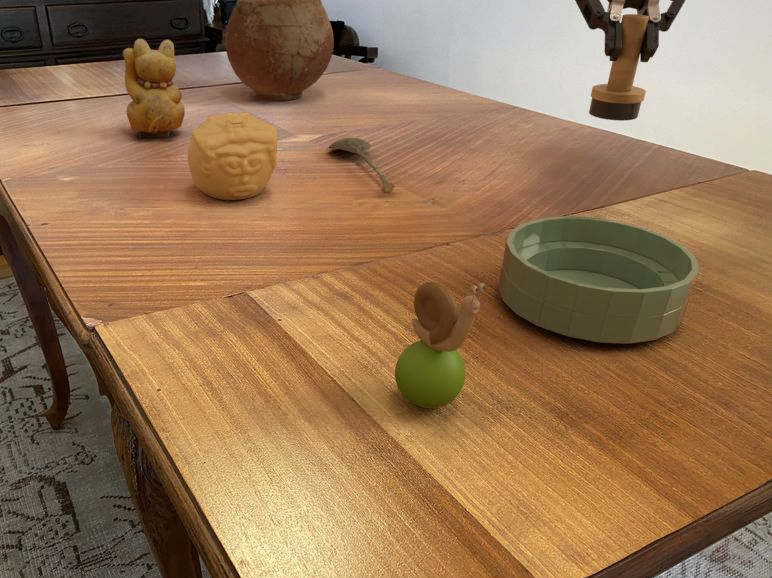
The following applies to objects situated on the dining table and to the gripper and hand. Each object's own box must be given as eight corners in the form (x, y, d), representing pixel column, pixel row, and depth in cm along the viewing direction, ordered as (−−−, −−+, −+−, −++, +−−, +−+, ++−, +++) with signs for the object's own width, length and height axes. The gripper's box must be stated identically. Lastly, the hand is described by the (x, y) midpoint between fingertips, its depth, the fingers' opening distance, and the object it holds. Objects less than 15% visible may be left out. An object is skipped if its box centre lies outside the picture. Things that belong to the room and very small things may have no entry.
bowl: (643, 270, 77) (658, 219, 74) (709, 354, 63) (731, 295, 60) (485, 264, 78) (494, 213, 75) (514, 346, 64) (526, 287, 61)
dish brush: (630, 109, 88) (653, 12, 82) (646, 121, 83) (672, 19, 77) (581, 108, 89) (601, 12, 83) (594, 120, 84) (616, 18, 78)
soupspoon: (363, 150, 116) (324, 154, 115) (363, 129, 114) (323, 134, 113) (410, 190, 98) (365, 196, 97) (411, 166, 96) (365, 172, 95)
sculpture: (204, 212, 90) (198, 127, 85) (182, 183, 100) (175, 105, 94) (287, 201, 94) (287, 119, 88) (258, 174, 103) (256, 98, 98)
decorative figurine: (183, 126, 125) (176, 35, 117) (189, 139, 118) (182, 43, 110) (128, 130, 123) (116, 37, 115) (130, 143, 116) (118, 45, 108)
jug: (234, 83, 155) (228, -76, 139) (332, 85, 155) (337, -74, 139) (220, 107, 137) (211, -73, 121) (331, 110, 136) (337, -71, 120)
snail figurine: (432, 438, 53) (451, 296, 46) (378, 395, 57) (389, 260, 51) (483, 414, 55) (509, 276, 49) (428, 375, 60) (445, 244, 53)
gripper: (581, -97, 81) (576, 34, 78) (709, -96, 80) (711, 37, 76) (564, -47, 89) (560, 75, 85) (682, -45, 87) (682, 79, 83)
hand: (631, 56), depth 81 cm, fingers closed on dish brush, 3 cm apart
